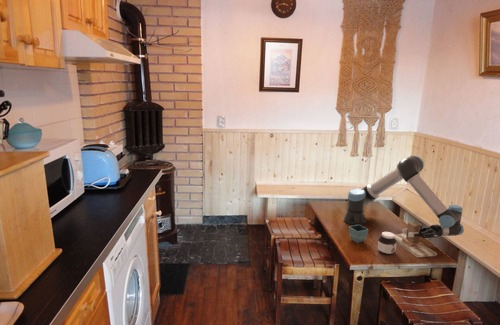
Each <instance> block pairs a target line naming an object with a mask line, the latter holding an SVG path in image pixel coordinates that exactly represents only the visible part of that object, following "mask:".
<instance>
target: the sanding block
mask: <svg viewBox="0 0 500 325" xmlns="http://www.w3.org/2000/svg"><path fill="white" fill-rule="evenodd" d="M421 225H422V224H419V223H418V222H415V221H412V222H411V221H410V222H407V227H406V229H407V236H406V238H404V239H402V242H403V243H405V244H406V245H408V246H409V247H410V246H422V244H424V243H423V241H421V240H420V237H408V233H411V232H420V226H421Z"/></svg>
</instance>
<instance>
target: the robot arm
mask: <svg viewBox="0 0 500 325" xmlns="http://www.w3.org/2000/svg"><path fill="white" fill-rule="evenodd" d="M424 163H425V162H424V160H423V159H422V158H421V157H420V156H417V155H410V156H408V157H405V158H402V159H400V161H398V163H397V165H396V168H394V169H392V170H391V171H390V172H388V173H387V174H385V175H384V176H382V177H381V178H380V179H378V180H376V181H375V182H374V183H372V184H367V185H366V186H364V187H363V188H361V189H360V188H354V189H351V190H349V191H348V194H347V207H346V208H347V209H346V212H345V214H344V216H343V221H344V223H346V224H348V225H350V226H354V225H361V226H363V225H365V224H366V217H365V216H366V215H365V206H366V205H369V204H371V203H373V202H375V200H377V199H378V198H379V196H380V194H382V193H384V192H385V191H387V190H388V189H390V188H392V187H393V186H394V185H396V184H398V183H399V182H401V181H402V180H404V181H405V182H406V184H409V185H410V186H411V187H412V188H413V189H414V191H415V192H416V193H417V194H418V196H419V197H420V198H421V199H422V201H423V202H424V203H425V204H426V205H427V206H428V208H430V210H431V211H432V213H433V214H434V215H435V216H436V217H437V219H438V222H439V223H438V224H431V225H430V226H425V225H424V224H420V225H421V226H420V232H411V233H408V237H419V238H421V239H431V238H438V237H439V238H442V237H452V236H453V237H454V236H460V235H463V233H464V231H465V229H464V225H462V223H461V222H462V215H463V214H462V213H463V207H462V206H460V205H458V204H450V205H448V207H447V206H446V205H445V204H444V202H442V200H441V199H440V198H439V197H438V195H436V193H435V192H434V191H433V190H432V188H430V186H429V185H428V184H427V183H426V181H425V180H424V179H423V178H422V177H421V176H420V175H421V173H420V172H421V171H423V169H424V167H425V164H424ZM401 230H402V231H401V234H405V233H407V228H402V229H401Z"/></svg>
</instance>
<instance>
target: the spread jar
mask: <svg viewBox="0 0 500 325" xmlns="http://www.w3.org/2000/svg"><path fill="white" fill-rule="evenodd" d="M394 234H395V233H393V232H390V231H382V233H381V235H380V237H379V238H378V240H377V250H378V251H379V252H380V253H381V254H382V255H386V256H391V255H393V254H395V253H396V249H397V245H398V243H397V242H396V239H395V238H394Z"/></svg>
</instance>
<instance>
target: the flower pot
mask: <svg viewBox="0 0 500 325" xmlns="http://www.w3.org/2000/svg"><path fill="white" fill-rule="evenodd" d="M348 233H349V237H350V239H351V240H352V241H353V242H355V243H356V244H359V243H363V242H364V241H365V240H366V239H367V237H368V233H369V229H368V228H367V227H365V226H363V225H350V226H348Z"/></svg>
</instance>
